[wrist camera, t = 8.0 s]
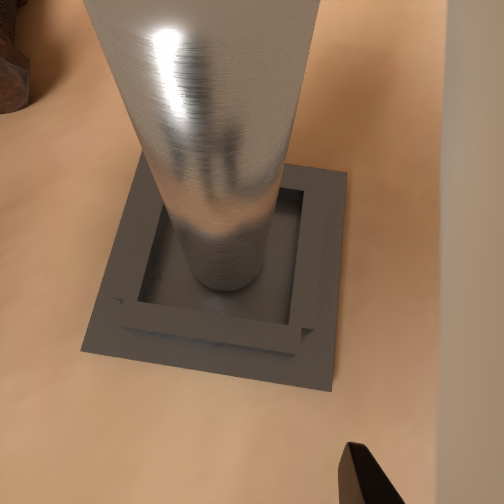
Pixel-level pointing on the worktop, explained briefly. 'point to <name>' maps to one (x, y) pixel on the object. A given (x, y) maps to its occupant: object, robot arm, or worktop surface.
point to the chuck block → (228, 302)
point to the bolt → (12, 62)
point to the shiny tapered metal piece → (211, 114)
